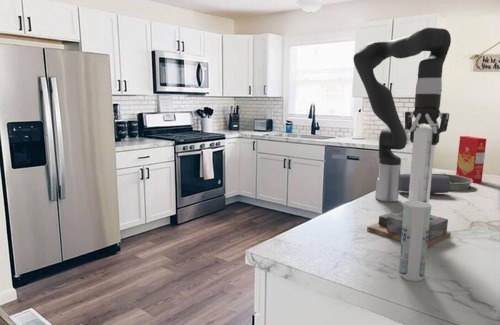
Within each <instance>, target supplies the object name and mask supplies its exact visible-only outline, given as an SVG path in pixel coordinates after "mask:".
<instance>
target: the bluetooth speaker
mask: <svg viewBox="0 0 500 325" xmlns="http://www.w3.org/2000/svg"><path fill="white" fill-rule="evenodd" d="M410 174H411V173H400V181H399V192H407V193H409V186H410ZM450 183H451V182H450V179H449V177H448V176H443V175H432V178H431V188H430V196H433V195H434V194H447V193H449V192H450V191H451V190H450Z"/></svg>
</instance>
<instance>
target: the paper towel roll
mask: <svg viewBox="0 0 500 325" xmlns="http://www.w3.org/2000/svg"><path fill="white" fill-rule="evenodd" d="M433 134H434V132H433V130H432V128H431V127H423V126H422V127H420V126H419V128H416V130H414V137H413V143H412V150H411V151H412V153H411V161H410V162H411V163H410V164H411V166H410V173H409V174H410V186H409V192H408V198H407V199H408V200H407V201H421V202H426V203H428V204H430V197H431V195H430V188H431V178H432V174H433V163H434V154H435V145H432V135H433Z"/></svg>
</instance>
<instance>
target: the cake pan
mask: <svg viewBox="0 0 500 325" xmlns="http://www.w3.org/2000/svg"><path fill="white" fill-rule="evenodd" d="M432 175H443V176H448V177H449V179H450V190H449V191H466V190H468V189H469V187H470V186H471V184H472V182H473V180H471V179H469V178H466V177H462V176H457V175H456V174H455V175H454V174H446V173H432ZM452 182H454V183H452ZM465 189H466V190H465Z"/></svg>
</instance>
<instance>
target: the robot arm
mask: <svg viewBox="0 0 500 325" xmlns="http://www.w3.org/2000/svg"><path fill="white" fill-rule="evenodd" d="M451 43H452V37H451V33H450V32H449V31H448V29H446V28H441V27H440V28H439V27H438V28H437V27H423V28H420V29H418V30H416V31H414V32H413V33H412V34H409V35H407V36H403V37H399V38H396V39H393V40H385V41H373V42H369V43H367V44H366V45H364V46H363V47H362V48H360V49H359V50H358V51H357V52H356V53H355V54H354V56H353V64H354V66H355V69H356V71H357V73H358V76H359V78H360V80H361V82H362V84H363V87H364V89H365V91H366V94H367V97H368V101H369V104H370V107H371V109H372V111H373V113H374V115H375V116H377V117H378V119H380V120H381V121H382V122H383V123H384V124H385V125H386V126H387V128H383V129H382V130H381V131H380V132H379V133H380V134H379V138H378V159H379V162H378V163H379V168H378V178H376V181H375V182H376V184H375V199H377V200H378V201H381V202H389V203H394V202H398V201H399V195H400V194H399V192H400V191H399V181H400V174H401V164H402V159H401V157H400V156H398V155H396V154H395V153H393V151H392V150H398V151H399V150H404V148H406V146H407V143H408V142H407V141H408V140H407V133H406V130H408V131H409V134H410V136H409V141H410V143H411V144H413V137H414V130H416V128H419V127H420V126H422V125H424V124H425V125H429V128H432V130H433V132H434V134H433V135H432V145H434V146H437V145H438V144H439V142H440V135H441V133H444V132H447V130H448V125H449V119H450V112H441V111H440V107H441V100H442V99H441V98H442V91H443V89H442V88H443V83H442V80H443V79H442V77H443V67H444V63H445V61H446V58H447V55H448V53H449V51H450V50H449V49H450V46H451ZM422 52H429V55H428V58H425V59H422V60H421V61H419V63H418V68H417V69H418V70H417V79H416V85H415V96H414V110H413V111H405V112H404V126H403V124H402V121H401V119H400V117H399V113H398V111H397V107H396V105H395V103H396V102H395V101H394V96H393V94H392V91H391V90H390V89H389V88H388V86H385V85H384V84H383V83H381V82H379V81H378V80H377V78H376V76H375V72H374V69H375V68H376V67H378V66H379V65H380V64H382V62H383V61H385V60H386V59H388V58H391V57H393V58H395V59H407V58H410V57H414V56H417V55H420V54H421V53H422ZM413 118H415V119H414V121H413ZM438 119H440V123H439V122H438Z"/></svg>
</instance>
